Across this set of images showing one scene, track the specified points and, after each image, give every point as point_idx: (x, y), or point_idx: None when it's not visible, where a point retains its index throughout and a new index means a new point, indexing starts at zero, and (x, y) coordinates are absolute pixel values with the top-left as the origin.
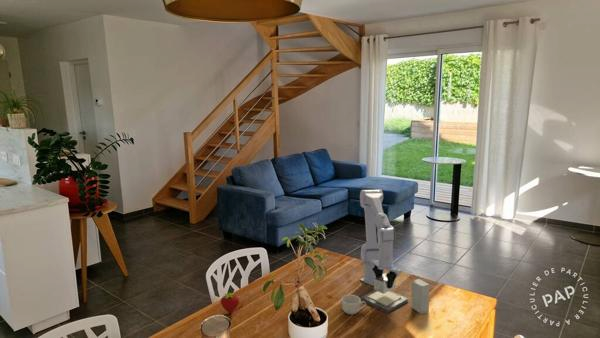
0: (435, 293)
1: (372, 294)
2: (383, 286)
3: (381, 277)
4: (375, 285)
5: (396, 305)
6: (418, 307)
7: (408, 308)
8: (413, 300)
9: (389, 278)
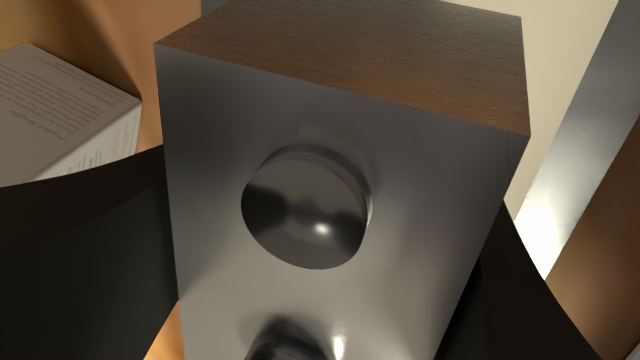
0: (175, 346)
1: (574, 60)
2: (221, 10)
3: (317, 239)
4: (477, 43)
5: (205, 12)
6: (20, 73)
7: (152, 75)
8: (56, 125)
9: (14, 199)
